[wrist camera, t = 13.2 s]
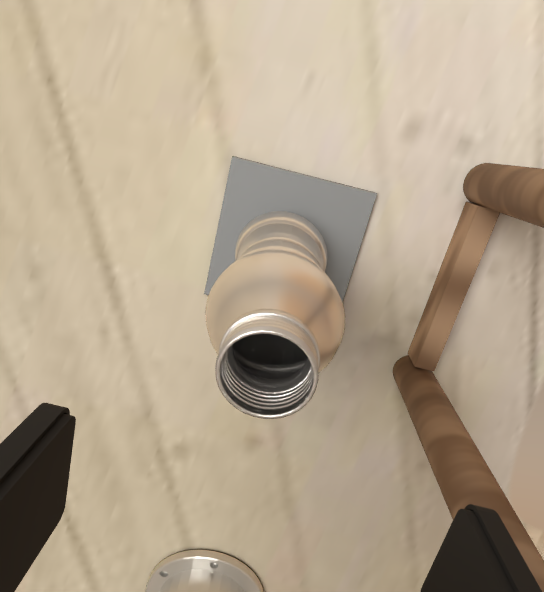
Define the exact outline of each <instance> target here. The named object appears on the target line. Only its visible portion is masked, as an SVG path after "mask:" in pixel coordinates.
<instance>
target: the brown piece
mask: <svg viewBox="0 0 544 592" xmlns="http://www.w3.org/2000/svg"><path fill="white" fill-rule="evenodd" d="M463 190H464V194H465V196H466V198H467V199H468V200H469V201H470V202H472V203H469V202H466V203H465V206H464V208H463V211H462V214H461V216H460V219H459V221H458V224H457V227H456V229H455V232H454V234H453V237H452V240H451V242H450V245H449V247H448V250H447V252H446V255H445V258H444V260H443V263H442V265H441V268H440V271H439V273H438V276H437V278H436V281H435V284H434V286H433V289H432V291H431V294H430V297H429V299H428V302H427V304H426V307H425V310H424V312H423V315H422V317H421V320H420V322H419V325H418V328H417V330H416V333H415V335H414V338H413V341H412V343H411V346H410V348H409V351H408V355H407V356H404V357H402V358H400V359H399V360H398V361H397V362H396V363H395V365H394V368H393V375H394V378H395V380H396V383H397V385H398V388H399V390H400V393H401V395H402V397H403V400H404V402H405V405H406V407H407V409H408V412H409V414H410V417H411V419H412V422H413V424H414V426H415V429H416V431H417V434H418V436H419V438H420V441H421V443H422V446H423V448H424V451H425V453H426V455H427V458H428V460H429V463H430V465H431V468H432V470H433V472H434V475H435V477H436V480H437V482H438V484H439V487H440V489H441V492H442V494H443V497H444V499H445V501H446V504H447V506H448V509H449V511H450V513H451V516H452V518H453V520H454V518H455V516H456V514H457V512H458V510H460V509H465V507H466V506H467V505H469V504H473V505H477V506H481V507H485V508H489V509H493V510H495V511H496V512H497V513H498V514H499V516H500V518H501V520H502V521H503V523H504V525H505V527H506V529H507V530H508V532H509V534H510V536H511V537H512V539H513V541H514V543H515V544H516V546H517V548H518V550H519V551H520V553H521V555H522V557H523V559H524V560H525V562H526V564H527V566H528V567H529V569H530V571H531V573H532V574H533V576H534V578H535V580H536V581H537V583H538V585H539V587H540V589H541V590H542V592H544V561H543V559H542V557H541V555H540V554H539V552H538V550H537V549H536V547H535V545H534V544H533V542H532V540H531V538H530V537H529V535H528V533H527V532H526V530H525V528H524V527H523V525H522V523H521V521H520V520H519V518H518V516H517V515H516V513H515V511H514V510H513V508H512V506H511V505H510V503H509V501H508V499H507V498H506V496H505V494H504V493H503V491H502V489H501V488H500V486H499V484H498V482H497V481H496V479H495V477H494V476H493V474H492V472H491V471H490V469H489V467H488V466H487V464H486V462H485V460H484V459H483V457H482V455H481V454H480V452H479V450H478V449H477V447H476V445H475V443H474V442H473V440H472V438H471V437H470V435H469V433H468V432H467V430H466V428H465V427H464V425H463V423H462V421H461V420H460V418H459V416H458V415H457V413H456V411H455V410H454V408H453V406H452V404H451V403H450V401H449V399H448V398H447V396H446V394H445V393H444V391H443V389H442V388H441V386H440V384H439V382H438V381H437V379H436V377H435V376H434V374H433V372H432V371H434V370H435V368H436V366H437V363H438V361H439V358H440V356H441V354H442V351H443V349H444V346H445V344H446V342H447V339H448V337H449V334H450V332H451V329H452V327H453V325H454V322H455V320H456V317H457V315H458V313H459V310H460V308H461V305H462V303H463V301H464V298H465V296H466V293H467V291H468V288H469V286H470V284H471V281H472V279H473V276H474V274H475V272H476V269H477V267H478V264H479V262H480V259H481V257H482V255H483V252H484V250H485V247H486V245H487V243H488V240H489V238H490V235H491V233H492V231H493V228H494V226H495V223H496V221H497V218H498V216H499V214H500V213H503V214H506V215H509V216H512V217H515V218H518V219H520V220H523V221H526V222H529V223H532V224H535V225H538V226H541V227H544V169H538V168H529V167H520V166H510V165H501V164H492V163H484V164H480V165H478V166H476V167H474V168H473V169H472V170H470V172H469V173H468V174H467V176H466V178H465V180H464V184H463ZM473 203H474V204H473Z"/></svg>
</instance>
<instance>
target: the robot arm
mask: <svg viewBox="0 0 544 592" xmlns="http://www.w3.org/2000/svg"><path fill="white" fill-rule="evenodd" d="M75 422H76V419H75V417H74V416H71V415H70V411H69V409H68V408H65V407H61V406H57V405H53V404H49V403H42V404H41V405H39V406H38V407H37V408H36V409H35V410H34V411H33V412H32V413H31V414H30V415H29V416H28V417H27V418H26V419H25V420H24V421H23V422H22V423H21V424H20V425H19V426H18V427H17V428H16V429H15V430H14V431H13V432H12V433H11V434H10V435H9V436H8V437H7V438H6V439H5V440H4V441H3V442H2V443H1V444H0V592H14V591H15V590H16V588H17V587H18V585H19V584H20V582H21V581H22V579H23V577H24V576H25V574H26V573H27V571H28V570H29V568H30V566H31V565H32V563H33V562H34V560H35V559H36V557H37V556H38V554H39V552H40V551H41V549H42V548H43V546H44V545H45V543H46V541H47V540H48V538H49V537H50V535H51V534H52V532H53V531H54V529H55V527H56V526H57V524H58V523H59V521H60V519H61V517H62V514H63V512H64V508H65V503H66V495H67V487H68V479H69V471H70V463H71V455H72V446H73V438H74V430H75ZM145 592H263V587H262V585H261V583H260V581H259V579H258V578H257V576H256V575H255V574H254V572H253V571H252V570H251V569H250V568H248V567H247V566H246V565H245V564H244V563H242V562H240V561H239V560H237V559H236V558H233V557H231V556H229V555H226V554H223V553H220V552H216V551H210V550H189V551H183V552H179V553H176V554H173V555H171V556H169V557H167V558H165V559H164V560H162V561H161V562H160V563H159V564H158V565H157V566H156V567H155V568H154V569H153V571H152V572H151V574H150V577H149V579H148V582H147V585H146V590H145ZM421 592H542V590H541V589H540V587H539V585H538V583H537V581H536V580H535V578H534V576H533V574H532V573H531V571H530V569H529V567H528V566H527V564H526V562H525V560H524V559H523V557H522V555H521V553H520V551H519V550H518V548H517V546H516V544H515V543H514V541H513V539H512V537H511V536H510V534H509V532H508V530H507V529H506V527H505V525H504V523H503V521H502V520H501V518H500V516H499V514H498V513H497V512H496V511H495V510H493V509H489V508H485V507H481V506H477V505H473V504H469V505H467V506H466V507H465V509H460V510H458V512H457V514H456V516H455V518H454V520H453V522H452V524H451V526H450V529H449V531H448V533H447V535H446V537H445V539H444V541H443V543H442V546H441V548H440V550H439V552H438V554H437V556H436V558H435V560H434V562H433V565H432V567H431V569H430V571H429V573H428V575H427V577H426V579H425V582H424V584H423V586H422V588H421Z"/></svg>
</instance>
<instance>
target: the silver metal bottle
mask: <svg viewBox="0 0 544 592" xmlns="http://www.w3.org/2000/svg"><path fill="white" fill-rule="evenodd" d="M326 265H327V249H326V244H325V242H324V240H323V237H322V235H321V234H320V232H319V231H318V229H317V228H316V227H315V226H314V225H313V224H312V223H311V222H309V221H308V220H306V219H305V218H303V217H301V216H299V215H297V214H294V213H290V212H285V211H274V212H269V213H265V214H262V215H260V216H258V217H256V218H255V219H253V220H251V221H250V222H249V223H248V224H247V225H246V226H245V227H244V229H243V230H242V232H241V233H240V235H239V237H238V240H237V243H236V249H235V262H234V263H232V264H231V265H230V266H229V267H228V268H227V269H226V270H225V271H224V272H223V273H222V274H221V275H220V276H219V277H218V279H217V280H216V282H215V284H214V285H213V287H212V288H211V291H210V293H209V296H208V299H207V304H206V311H205V315H206V326H207V329H208V333H209V337H210V340H211V343H212V345H213V347H214V349H215V351H216V353H217V354H218V357H217V361H216V380H217V383H218V387H219V389H220V391H221V392H222V394H223V396H224V397H225V398H226V399H227V401H228V402H229V403H230V404H232V405H233V406H234V407H235V408H236V409H238V410H240V411H242V412H243V413H245V414H248V415H251V416H253V417H258V418H263V419H276V418H283V417H286V416H289V415H292V414H294V413H296V412H297V411H299V410H300V409H302V408H303V407H304V406H305V405H306V404H307V403H308V402H309V401H310V400H311V398H312V396H313V394H314V392H315V390H316V387H317V383H318V373H319V372H320V371H322V370H323V369H324V368H325V367H326V366H327V365H328V364H329V362H330V361H331V360H332V359H333V357H334V355H335V353H336V351H337V349H338V347H339V345H340V343H341V341H342V337H343V334H344V330H345V313H344V308H343V303H342V301H341V298H340V296H339V293H338V291H337V290H336V288H335V286H334V284H333V283H332V281H331V280H330V278H329V277H328V276H327V275H326V273H325V269H326Z"/></svg>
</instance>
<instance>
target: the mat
mask: <svg viewBox="0 0 544 592" xmlns="http://www.w3.org/2000/svg"><path fill="white" fill-rule="evenodd" d="M376 195H377V193H375V192H371V191H367V190H363V189H359V188H355V187H351V186H347V185H343V184H340V183H336V182H332V181H328V180H324V179H320V178H316V177H312V176H308V175H305V174H301V173H297V172H293V171H289V170H285V169H281V168H277V167H273V166H269V165H266V164H262V163H258V162H254V161H250V160H246V159H242V158H238V157H234V156H232V160H231V165H230V170H229V175H228V180H227V184H226V189H225V194H224V199H223V204H222V209H221V214H220V219H219V224H218V229H217V234H216V238H215V243H214V248H213V253H212V258H211V263H210V268H209V273H208V278H207V283H206V288H205V292H204V294H206V295H209V293H210V291H211V288H212V287H213V285H214V284H215V282H216V280H217V279H218V277H219V276H220V275H221V274H222V273H223V272H224V271H225V270H226V269H227V268H228V267H229V266H230V265H231V264H232V263H234V262H235V249H236V243H237V240H238V237H239V235H240V233H241V232H242V230H243V229H244V227H245V226H246V225H247V224H248V223H249V222H250V221H251V220H253V219H255V218H256V217H258V216H260V215H262V214H265V213H269V212H274V211H285V212H290V213H294V214H297V215H299V216H301V217H303V218H305V219H306V220H308V221H309V222H311V223H312V224H313V225H314V226H315V227H316V228H317V229H318V231H319V232H320V234H321V235H322V237H323V240H324V242H325V244H326V249H327V265H326V269H325V273H326V275H327V276H328V277H329V278H330V280H331V281H332V283H333V284H334V286H335V288H336V290H337V291H338V293H339V296H340V298H341V301H342V302H343V299H344V296H345V293H346V290H347V287H348V284H349V280H350V277H351V274H352V271H353V268H354V265H355V261H356V258H357V255H358V252H359V249H360V246H361V243H362V239H363V236H364V233H365V230H366V227H367V224H368V220H369V217H370V214H371V211H372V208H373V205H374V202H375V198H376Z"/></svg>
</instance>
